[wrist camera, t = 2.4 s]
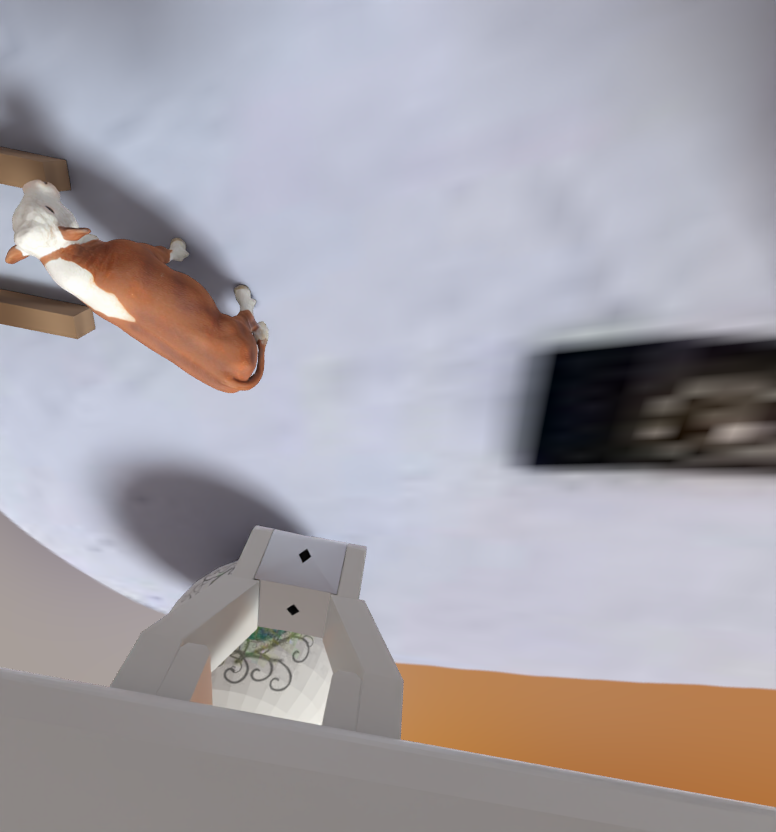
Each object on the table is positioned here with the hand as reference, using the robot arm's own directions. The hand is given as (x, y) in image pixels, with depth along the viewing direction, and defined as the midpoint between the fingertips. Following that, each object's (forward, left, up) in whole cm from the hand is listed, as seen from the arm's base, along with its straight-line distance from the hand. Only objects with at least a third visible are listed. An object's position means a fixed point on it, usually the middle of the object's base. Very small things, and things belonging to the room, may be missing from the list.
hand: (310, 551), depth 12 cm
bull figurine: (+12, 0, -19) cm, 23 cm away
